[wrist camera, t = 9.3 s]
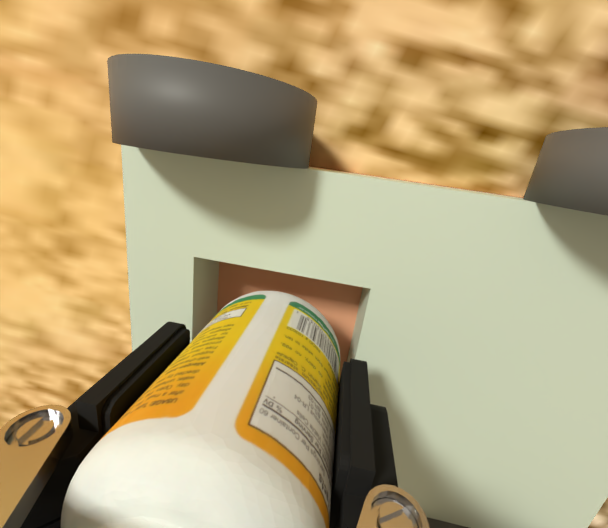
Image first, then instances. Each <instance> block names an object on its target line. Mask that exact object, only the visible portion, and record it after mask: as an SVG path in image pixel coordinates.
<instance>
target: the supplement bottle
mask: <svg viewBox="0 0 608 528" xmlns="http://www.w3.org/2000/svg"><path fill="white" fill-rule="evenodd" d="M339 377H340V349H339V344H338V340H337V337H336V335H335V333H334V330H333V329H332V327H331V325H330V324H329V322H328V321H327V319H326V318H325V317H324V316H323V315H322V314H321V313H320V312H319V311H318V310H317V309H316V308H315V307H313V306H312V305H311V304H310V303H308V302H306V301H304V300H303V299H301V298H299V297H296V296H294V295H291V294H288V293H284V292H279V291H256V292H252V293H249V294H246V295H243V296H241V297H239V298H237V299H235V300H233V301H231V302H230V303H228V304H227V305H225V306H224V307H223V308H222V309H221V310H220V311H219V312H218V313H217V314H216V315H215V317H214V318H213V319H212V320H211V321H210V322H209V323H208V324H207V325H206V326H205V327H204V328H203V329H202V330H201V331H200V333H199V334H198V335H197V336H196V337H195V338H194V339H193V340H192V342H191V343H190V344H189V345H188V346H187V347H186V348H185V349H184V350H183V351H182V352H181V353H180V354H179V356H178V357H177V358H176V359H175V360H174V361H173V362H172V363H171V364H170V365H169V366H168V367H167V368H166V370H165V371H164V372H163V373H162V374H161V375H160V376H159V377H158V378H157V379H156V380H155V381H154V382H153V383H152V385H151V386H150V387H149V388H148V389H147V390H146V391H145V392H144V393H143V394H142V395H141V396H140V398H139V399H138V400H137V401H136V402H135V403H134V404H133V405H132V406H131V407H130V408H129V409H128V410H127V411H126V413H125V414H124V415H123V416H122V417H121V418H120V419H119V420H118V421H117V422H116V424H115V425H114V426H113V427H112V428H111V429H110V430H109V431H108V432H107V433H106V434H105V435H104V436H103V437H102V438H101V440H100V441H99V442H98V443H97V444H96V445H95V446H94V447H93V449H92V450H91V451H90V452H89V453H88V455H87V456H86V457H85V459H84V460H83V461H82V463H81V464H80V465H79V467H78V469H77V471H76V472H75V474H74V476H73V478H72V480H71V482H70V484H69V487H68V489H67V492H66V496H65V499H64V502H63V507H62V513H61V528H329V524H330V509H331V495H332V480H333V465H334V450H335V435H336V420H337V406H338V391H339Z"/></svg>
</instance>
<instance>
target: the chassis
mask: <svg viewBox="0 0 608 528" xmlns="http://www.w3.org/2000/svg"><path fill="white" fill-rule="evenodd" d="M107 62H108V78H109V94H110V111H111V127H112V142H113V143H116V144H121V149H122V168H123V186H124V205H125V224H126V243H127V261H128V280H129V299H130V317H131V336H132V352H133V351H134V350H135V349H136V348H138V347H139V346H140V345H141V344H142V343H143V342H145V341H146V340H147V339H148V338H149V337H150V336H152V335H153V334H154V333H155V332H156V331H157V330H159V329H160V328H161V327H162V326H163V325H164V324H166V323H167V322H175V323H180V324H184V325H185V326H186V329H189V331H190V343H191V342H192V340H193V339H194V338H195V337H196V336H197V335H198V334H199V333H200V331H201V330H202V329H203V328H204V327H205V326H206V325H207V324H208V323H209V322H210V321H211V320H212V319H213V318H214V317H215V315H216V314H217V313H218V312H219V311H220V310H221V309H222V308H223V307H224V306H225V305H227V304H228V303H230V302H231V301H233V300H235V299H237V298H239V297H241V296H243V295H246V294H249V293H252V292H256V291H279V292H284V293H288V294H291V295H294V296H296V297H299V298H301V299H303V300H304V301H306V302H308V303H310V304H311V305H312V306H313V307H315V308H316V309H317V310H318V311H319V312H320V313H321V314H322V315H323V316H324V317H325V318H326V319H327V321H328V322H329V324H330V325H331V327H332V329H333V330H334V333H335V335H336V337H337V340H338V344H339V349H340V377H341V372H342V367H343V363H344V361H345V362H350V359H351V358H352V359H357V360H362V361H366V362H367V367H368V380H369V393H370V404H373V405H378V406H383V407H386V409H387V413H388V420H389V427H390V434H391V441H392V448H393V455H394V461H395V468H396V475H397V482H398V488H401V489H403V490H404V491H406V492H407V493H409V494H410V495H411V496H412V497H413V498H414V499H415V500H416V501H417V502H418V503H419V504H420V506H421V508H422V509H423V511H424V513H425V514H426V517H427V520H428V523H429V528H588V526H589V525H590V523H591V522H592V520H593V519H594V517H595V515H596V514H597V512H598V511H599V509H600V508H601V506H602V505H603V503H604V502H605V500H606V499H607V497H608V127H603V128H586V129H574V130H566V131H560V132H554V133H551V134H549V135H547V136H546V138H545V141H544V143H543V146H542V149H541V152H540V154H539V157H538V160H537V163H536V165H535V168H534V171H533V174H532V176H531V179H530V182H529V185H528V187H527V190H526V193H525V196H524V198H520V197H514V196H507V195H500V194H493V193H486V192H480V191H473V190H466V189H459V188H452V187H446V186H439V185H432V184H425V183H418V182H412V181H405V180H398V179H391V178H384V177H378V176H371V175H364V174H357V173H350V172H344V171H337V170H330V169H323V168H316V167H310V166H309V160H310V152H311V145H312V137H313V130H314V122H315V115H316V108H317V100H316V98H315V97H313V96H312V95H311V94H309V93H307V92H306V91H304V90H302V89H299V88H297V87H295V86H292V85H290V84H287V83H284V82H281V81H278V80H275V79H272V78H269V77H266V76H262V75H259V74H255V73H252V72H248V71H244V70H240V69H236V68H231V67H227V66H222V65H218V64H212V63H207V62H202V61H196V60H190V59H184V58H177V57H169V56H160V55H148V54H121V55H115V56H111V57H110V58H108V61H107ZM340 377H339V381H340Z"/></svg>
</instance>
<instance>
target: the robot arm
mask: <svg viewBox="0 0 608 528" xmlns="http://www.w3.org/2000/svg"><path fill="white" fill-rule="evenodd" d="M189 344H190V331H189V329H186V326H185V325H184V324H180V323H175V322H167V323H166V324H164V325H163V326H162V327H161V328H160V329H159V330H157V331H156V332H155V333H154V334H153V335H152V336H150V337H149V338H148V339H147V340H146V341H145V342H143V343H142V344H141V345H140V346H139V347H138V348H136V349H135V350H134V351H133V352H132V353H131V354H129V355H128V356H127V357H126V358H125V359H124V360H122V361H121V362H120V363H119V364H118V365H117V366H115V367H114V368H113V369H112V370H111V371H110V372H108V373H107V374H106V375H105V376H104V377H103V378H101V379H100V380H99V381H98V382H97V383H96V384H94V385H93V386H92V387H91V388H90V389H89V390H87V391H86V392H85V393H84V394H83V395H82V396H80V397H79V398H78V399H77V400H76V401H75V402H74V403H73V404H72V405H70V406H69V407H68V408H65V407H63V406H59V405H46V406H40V407H37V408H33V409H30V410H28V411H26V412H23V413H21V414H19V415H18V416H16V417H14V418H13V419H11V420H10V421H9V422H7V423H6V424H5V425H4V426H3V427H2V428H1V429H0V528H61V513H62V507H63V502H64V499H65V496H66V492H67V489H68V487H69V484H70V482H71V480H72V478H73V476H74V474H75V472H76V471H77V469H78V467H79V465H80V464H81V463H82V461H83V460H84V459H85V457H86V456H87V455H88V453H89V452H90V451H91V450H92V449H93V447H94V446H95V445H96V444H97V443H98V442H99V441H100V440H101V438H102V437H103V436H104V435H105V434H106V433H107V432H108V431H109V430H110V429H111V428H112V427H113V426H114V425H115V424H116V422H117V421H118V420H119V419H120V418H121V417H122V416H123V415H124V414H125V413H126V411H127V410H128V409H129V408H130V407H131V406H132V405H133V404H134V403H135V402H136V401H137V400H138V399H139V398H140V396H141V395H142V394H143V393H144V392H145V391H146V390H147V389H148V388H149V387H150V386H151V385H152V383H153V382H154V381H155V380H156V379H157V378H158V377H159V376H160V375H161V374H162V373H163V372H164V371H165V370H166V368H167V367H168V366H169V365H170V364H171V363H172V362H173V361H174V360H175V359H176V358H177V357H178V356H179V354H180V353H181V352H182V351H183V350H184V349H185V348H186V347H187V346H188V345H189ZM329 528H429V523H428V520H427V517H426V514H425V513H424V511H423V509H422V508H421V506H420V504H419V503H418V502H417V501H416V500H415V499H414V498H413V497H412V496H411V495H410V494H409V493H407V492H406V491H404V490H403V489H401V488H398V482H397V475H396V468H395V461H394V455H393V448H392V441H391V434H390V427H389V420H388V413H387V409H386V407H383V406H378V405H373V404H370V393H369V380H368V367H367V362H366V361H362V360H357V359H352V358H351V359H350V362H345V361H344V363H343V367H342V372H341V377H340V381H339V391H338V406H337V420H336V435H335V450H334V465H333V480H332V495H331V509H330V524H329Z"/></svg>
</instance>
